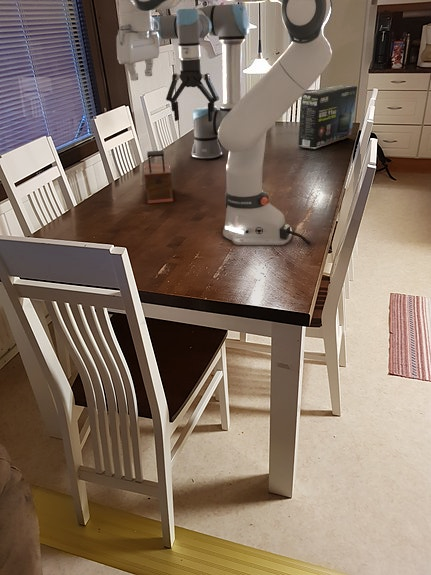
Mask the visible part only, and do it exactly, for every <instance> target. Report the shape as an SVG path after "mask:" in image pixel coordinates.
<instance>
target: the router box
mask: <svg viewBox="0 0 431 575" xmlns="http://www.w3.org/2000/svg"><path fill="white" fill-rule="evenodd" d="M357 93H358V86H356V85H350V84H339V85H338V84H337V85H334V86H328V87H324V88H318V89H314V90H309V91H308V90H307V91H306V92H305V93H304V94H303V95H302V96H301V97H300V109H299V110H300V111H299V124H298V137H297V146H298V145H302V146H307V147H317V146H320V145H323V144H325V143H328V142H331V141H333V140H336V139H338V138H341V137H344V136H347V135H351V136H352V133H353V132H352V131H353V125H354V115H355V109H356V99H357ZM311 151H313V150H312V149H311Z"/></svg>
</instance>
